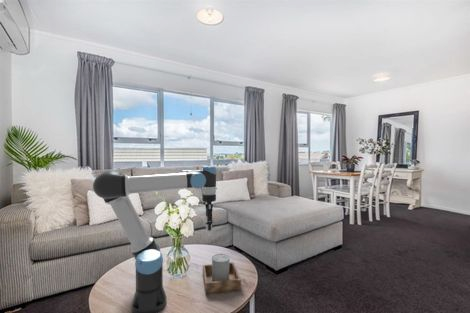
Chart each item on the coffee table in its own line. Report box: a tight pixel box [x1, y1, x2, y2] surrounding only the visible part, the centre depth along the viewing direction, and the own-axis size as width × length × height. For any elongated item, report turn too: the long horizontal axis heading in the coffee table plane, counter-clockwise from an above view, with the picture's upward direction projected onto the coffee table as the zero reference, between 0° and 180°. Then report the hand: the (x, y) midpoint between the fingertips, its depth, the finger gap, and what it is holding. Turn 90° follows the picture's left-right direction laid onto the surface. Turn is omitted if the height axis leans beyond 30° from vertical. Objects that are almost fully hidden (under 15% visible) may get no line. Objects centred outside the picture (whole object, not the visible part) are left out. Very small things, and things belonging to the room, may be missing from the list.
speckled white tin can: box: [211, 253, 230, 282], centre depth 127 cm, size 10×10×12 cm
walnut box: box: [202, 261, 242, 295], centre depth 127 cm, size 18×19×6 cm
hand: (208, 231), depth 131 cm, fingers open, 13 cm apart
